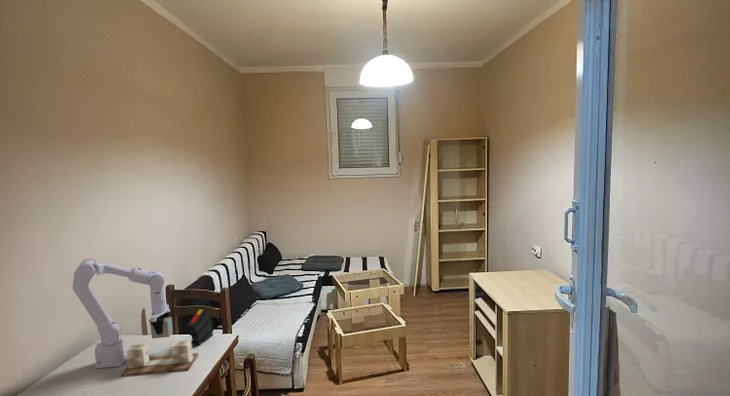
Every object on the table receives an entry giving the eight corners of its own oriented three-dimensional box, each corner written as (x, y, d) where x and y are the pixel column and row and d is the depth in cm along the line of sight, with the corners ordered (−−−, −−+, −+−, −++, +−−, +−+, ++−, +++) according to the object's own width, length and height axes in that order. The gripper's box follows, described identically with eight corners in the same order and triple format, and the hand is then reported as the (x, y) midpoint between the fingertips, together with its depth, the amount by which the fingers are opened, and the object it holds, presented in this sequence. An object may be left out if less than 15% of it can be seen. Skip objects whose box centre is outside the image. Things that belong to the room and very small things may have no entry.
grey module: (151, 338, 173) (150, 322, 172) (156, 333, 177) (154, 318, 176) (169, 337, 173) (167, 321, 173) (173, 332, 178) (171, 317, 177)
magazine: (217, 329, 192) (206, 306, 184) (203, 352, 181) (190, 329, 174) (210, 328, 193) (199, 306, 185) (195, 352, 182) (183, 329, 175)
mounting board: (121, 376, 157) (119, 355, 156) (136, 360, 169) (133, 341, 168) (188, 370, 159) (186, 349, 158) (198, 355, 171) (196, 336, 170)
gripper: (161, 306, 167) (164, 338, 168) (174, 294, 181) (177, 323, 183) (143, 307, 166) (147, 339, 168) (158, 295, 180) (161, 325, 182)
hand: (161, 331), depth 175 cm, fingers closed on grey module, 4 cm apart
